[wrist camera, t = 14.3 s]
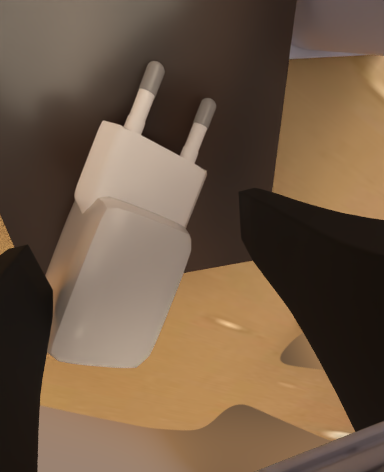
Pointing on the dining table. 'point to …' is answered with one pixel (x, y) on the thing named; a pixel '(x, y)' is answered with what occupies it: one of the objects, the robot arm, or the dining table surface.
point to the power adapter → (125, 239)
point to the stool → (122, 99)
